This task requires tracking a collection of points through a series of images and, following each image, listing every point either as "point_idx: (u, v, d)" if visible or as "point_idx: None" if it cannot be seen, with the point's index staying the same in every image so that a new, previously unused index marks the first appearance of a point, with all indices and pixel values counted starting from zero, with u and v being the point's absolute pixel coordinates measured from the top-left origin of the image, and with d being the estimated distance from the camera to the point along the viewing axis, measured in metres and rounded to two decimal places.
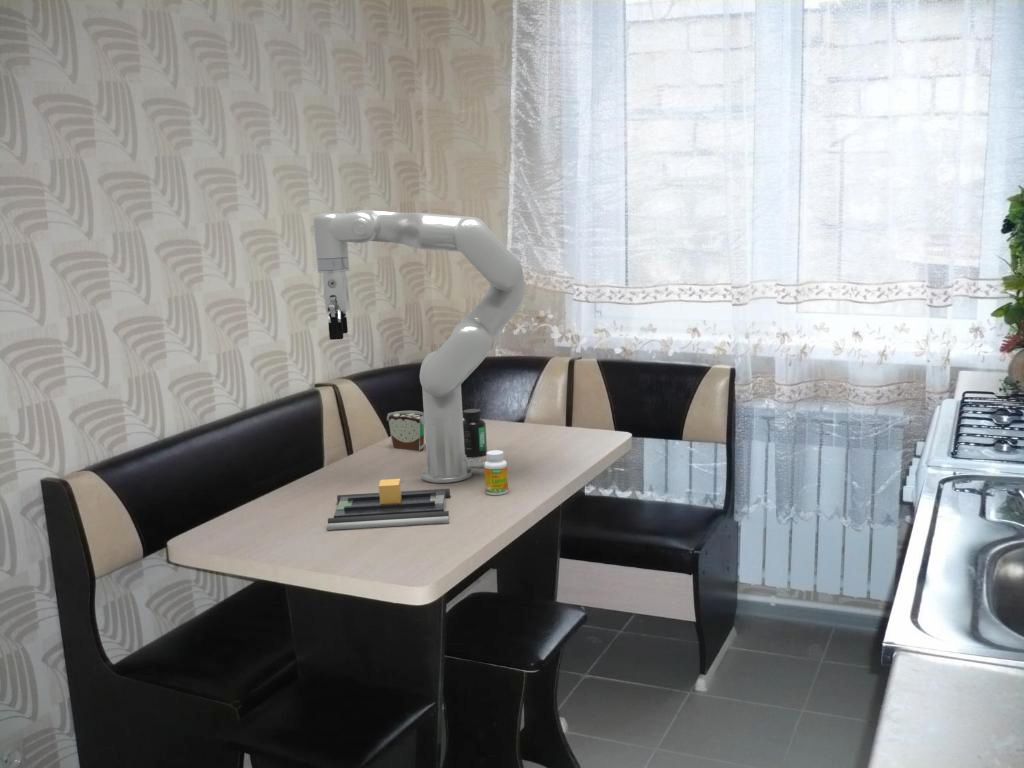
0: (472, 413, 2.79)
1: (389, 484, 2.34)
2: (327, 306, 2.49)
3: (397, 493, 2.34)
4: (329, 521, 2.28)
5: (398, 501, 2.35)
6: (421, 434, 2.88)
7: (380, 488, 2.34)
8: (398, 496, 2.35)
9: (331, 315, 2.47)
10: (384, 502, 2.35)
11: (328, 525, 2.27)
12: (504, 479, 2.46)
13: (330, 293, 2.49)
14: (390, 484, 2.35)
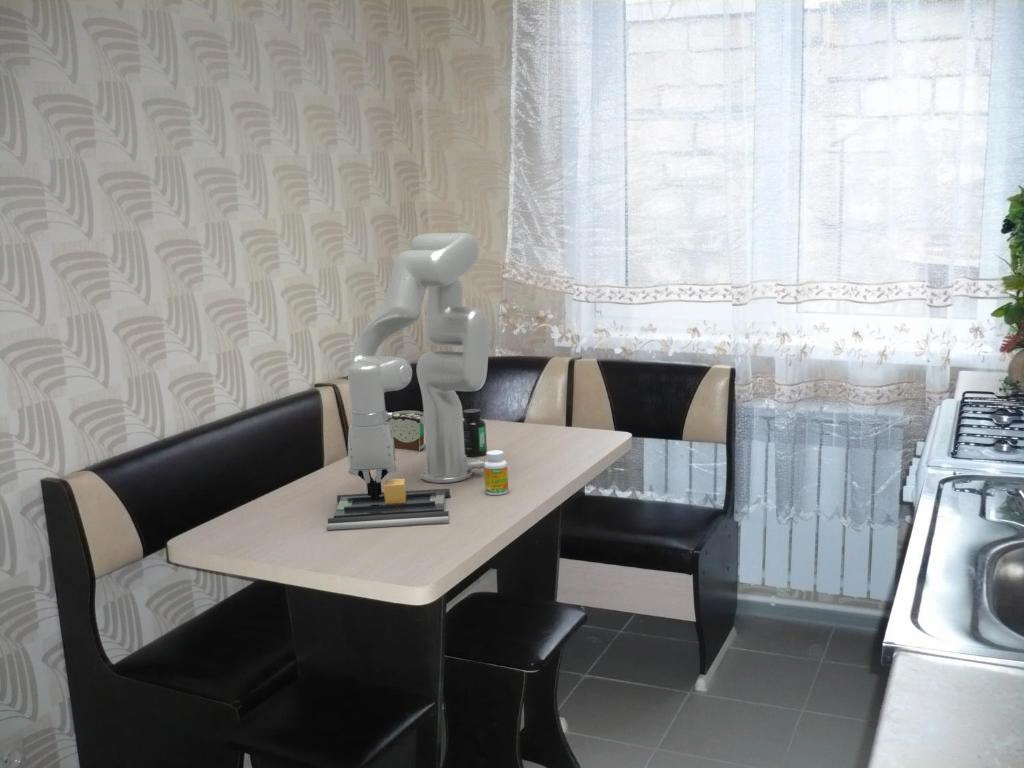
0: (472, 413, 2.79)
1: (394, 484, 2.34)
2: (386, 468, 2.34)
3: (402, 493, 2.34)
4: (329, 521, 2.28)
5: (403, 501, 2.35)
6: (421, 434, 2.88)
7: (385, 488, 2.34)
8: (403, 496, 2.35)
9: (387, 472, 2.36)
10: (389, 502, 2.35)
11: (328, 525, 2.27)
12: (504, 479, 2.46)
13: (393, 445, 2.34)
14: (395, 483, 2.35)
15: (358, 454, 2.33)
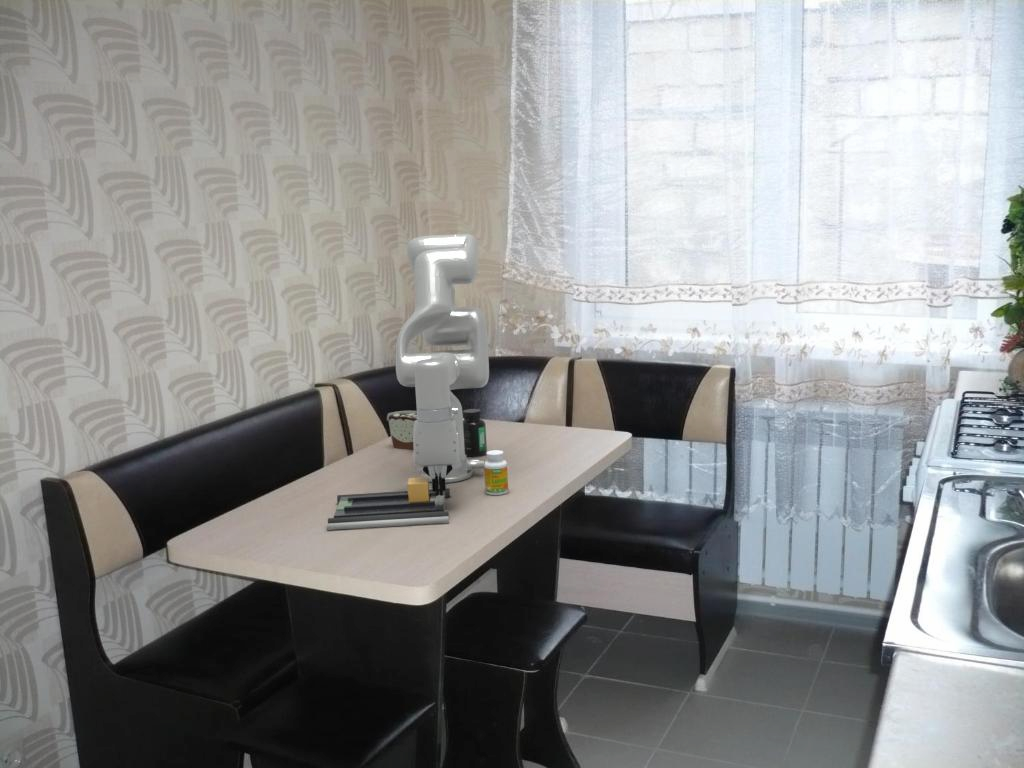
0: (472, 413, 2.79)
1: (418, 483, 2.35)
2: (452, 463, 2.35)
3: (426, 491, 2.35)
4: (329, 521, 2.28)
5: (427, 499, 2.35)
6: None
7: (409, 486, 2.34)
8: (427, 494, 2.35)
9: (452, 467, 2.36)
10: (413, 500, 2.35)
11: (328, 525, 2.27)
12: (504, 479, 2.46)
13: (458, 440, 2.35)
14: (419, 482, 2.35)
15: (424, 449, 2.33)
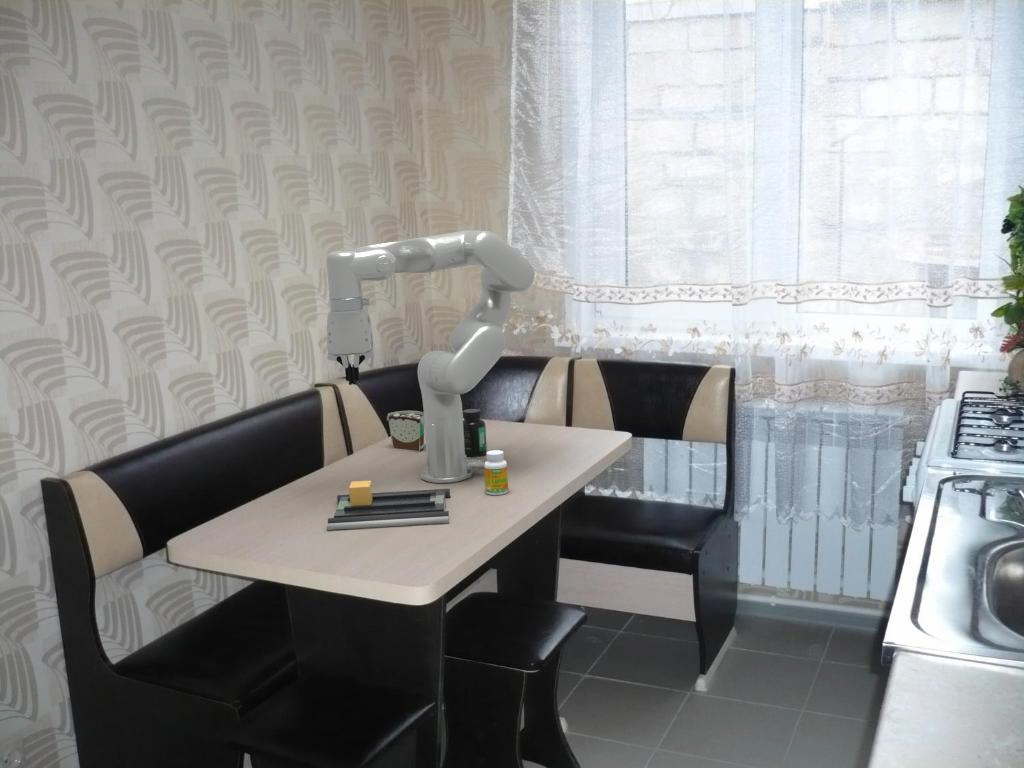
0: (472, 413, 2.79)
1: (360, 486, 2.34)
2: (364, 353, 2.43)
3: (367, 495, 2.34)
4: (329, 521, 2.28)
5: (369, 503, 2.35)
6: (421, 434, 2.88)
7: (350, 490, 2.34)
8: (368, 498, 2.34)
9: (365, 357, 2.45)
10: (355, 504, 2.34)
11: (328, 525, 2.27)
12: (504, 479, 2.46)
13: (370, 331, 2.43)
14: (361, 485, 2.35)
15: (337, 338, 2.42)
